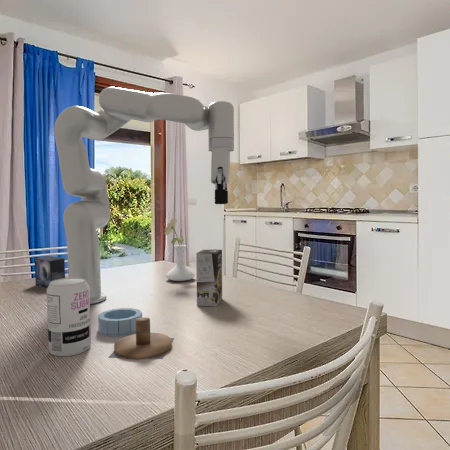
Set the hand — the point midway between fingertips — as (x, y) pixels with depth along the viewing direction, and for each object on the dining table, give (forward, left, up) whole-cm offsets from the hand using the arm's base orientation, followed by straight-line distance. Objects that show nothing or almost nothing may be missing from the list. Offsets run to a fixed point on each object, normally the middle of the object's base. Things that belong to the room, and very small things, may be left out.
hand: (221, 203), depth 111 cm
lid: (-14, -34, -30) cm, 48 cm away
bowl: (-23, -23, -31) cm, 45 cm away
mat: (-14, -34, -31) cm, 48 cm away
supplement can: (-29, -36, -31) cm, 56 cm away
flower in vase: (-20, +34, -31) cm, 50 cm away
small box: (-67, +23, -31) cm, 77 cm away
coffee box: (-4, +3, -31) cm, 31 cm away
